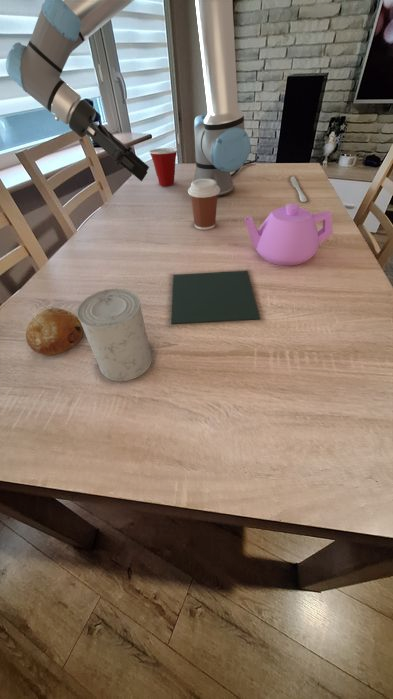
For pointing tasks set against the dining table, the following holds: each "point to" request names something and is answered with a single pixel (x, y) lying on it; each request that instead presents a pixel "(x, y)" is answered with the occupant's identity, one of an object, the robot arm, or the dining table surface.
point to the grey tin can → (116, 333)
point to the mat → (213, 298)
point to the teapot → (289, 234)
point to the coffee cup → (204, 202)
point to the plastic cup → (164, 164)
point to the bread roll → (53, 331)
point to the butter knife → (298, 189)
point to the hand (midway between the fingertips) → (145, 174)
